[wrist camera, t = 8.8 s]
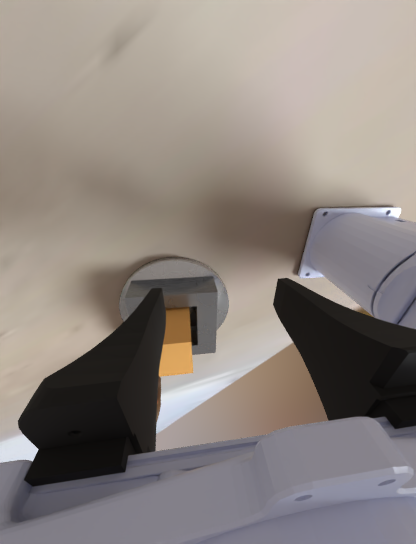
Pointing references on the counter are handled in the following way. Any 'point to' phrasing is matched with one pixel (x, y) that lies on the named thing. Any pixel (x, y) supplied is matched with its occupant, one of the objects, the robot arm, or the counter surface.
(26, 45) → the counter surface
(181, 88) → the counter surface
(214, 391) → the counter surface
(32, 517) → the robot arm
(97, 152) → the counter surface
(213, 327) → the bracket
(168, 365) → the tan rectangular prism
